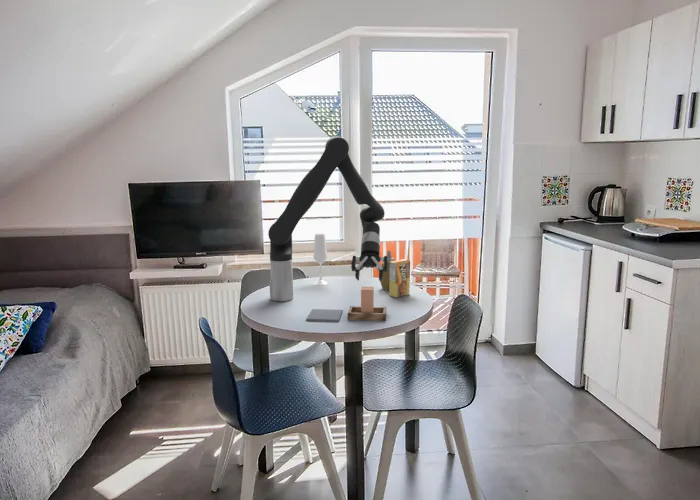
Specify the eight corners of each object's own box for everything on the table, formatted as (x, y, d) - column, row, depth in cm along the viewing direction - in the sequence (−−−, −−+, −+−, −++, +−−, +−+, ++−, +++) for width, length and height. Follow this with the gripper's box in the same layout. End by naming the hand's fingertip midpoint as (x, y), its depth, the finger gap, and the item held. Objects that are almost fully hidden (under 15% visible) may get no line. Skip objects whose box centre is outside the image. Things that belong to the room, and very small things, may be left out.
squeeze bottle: (392, 292, 211) (392, 252, 208) (376, 289, 215) (376, 251, 212) (400, 288, 217) (400, 249, 214) (385, 285, 222) (385, 248, 219)
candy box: (403, 292, 210) (403, 258, 208) (410, 294, 207) (410, 260, 204) (388, 295, 205) (389, 261, 202) (395, 297, 202) (396, 262, 199)
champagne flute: (330, 283, 228) (329, 234, 223) (320, 285, 223) (319, 235, 219) (321, 280, 232) (320, 232, 228) (311, 283, 227) (309, 234, 223)
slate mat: (306, 320, 172) (306, 318, 172) (312, 311, 184) (312, 309, 184) (338, 321, 171) (338, 319, 171) (342, 311, 183) (342, 309, 183)
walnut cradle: (347, 319, 173) (347, 313, 173) (350, 312, 182) (350, 306, 181) (385, 320, 172) (385, 314, 171) (386, 313, 180) (386, 307, 180)
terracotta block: (361, 318, 175) (361, 289, 173) (362, 314, 179) (361, 286, 177) (372, 318, 174) (372, 289, 172) (373, 314, 179) (373, 286, 177)
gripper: (352, 240, 189) (349, 274, 180) (387, 240, 187) (387, 274, 178) (353, 250, 195) (351, 284, 186) (388, 250, 193) (387, 284, 184)
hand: (368, 279), depth 182 cm, fingers open, 8 cm apart
